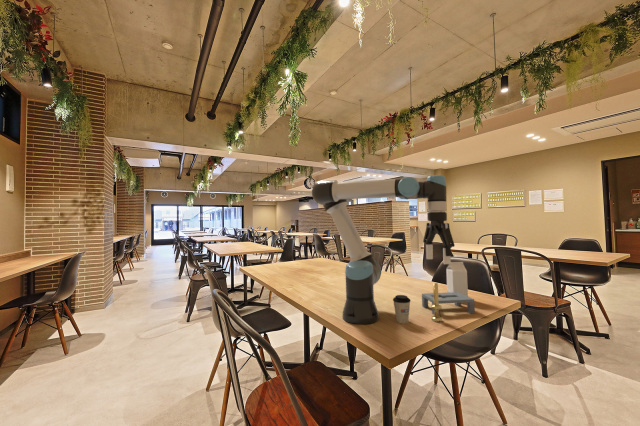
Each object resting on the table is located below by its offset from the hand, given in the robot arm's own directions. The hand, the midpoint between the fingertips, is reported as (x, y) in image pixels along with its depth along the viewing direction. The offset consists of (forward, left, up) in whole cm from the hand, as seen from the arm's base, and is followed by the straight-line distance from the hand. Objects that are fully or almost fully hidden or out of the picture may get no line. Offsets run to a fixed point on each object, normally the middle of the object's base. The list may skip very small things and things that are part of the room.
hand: (437, 261), depth 116 cm
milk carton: (+20, +21, -23) cm, 38 cm away
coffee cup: (-18, -4, -23) cm, 29 cm away
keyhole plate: (+7, +7, -23) cm, 25 cm away
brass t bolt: (-4, -5, -23) cm, 24 cm away
